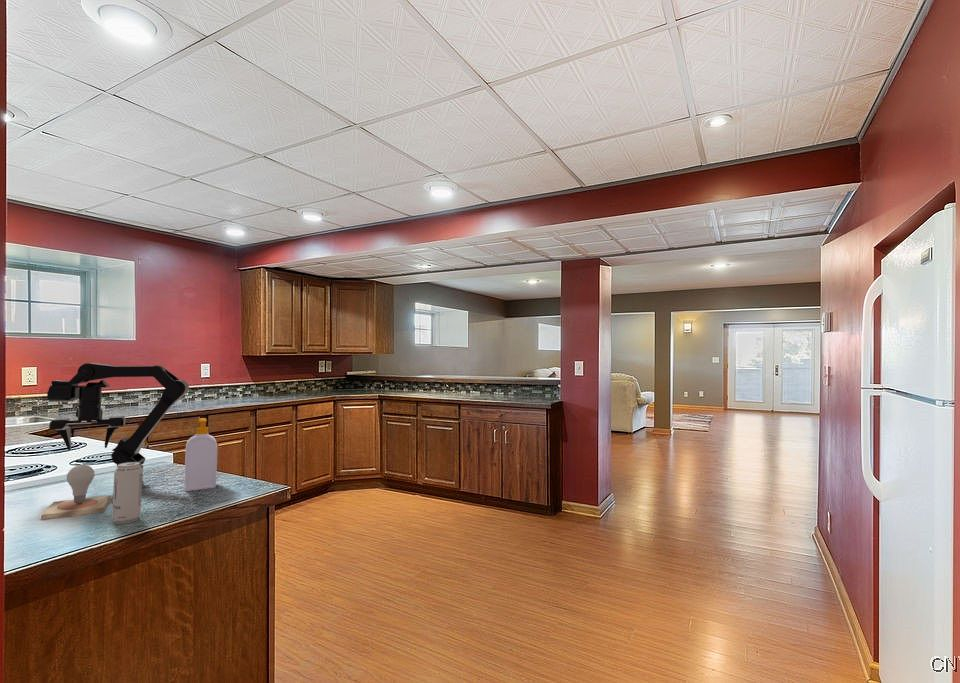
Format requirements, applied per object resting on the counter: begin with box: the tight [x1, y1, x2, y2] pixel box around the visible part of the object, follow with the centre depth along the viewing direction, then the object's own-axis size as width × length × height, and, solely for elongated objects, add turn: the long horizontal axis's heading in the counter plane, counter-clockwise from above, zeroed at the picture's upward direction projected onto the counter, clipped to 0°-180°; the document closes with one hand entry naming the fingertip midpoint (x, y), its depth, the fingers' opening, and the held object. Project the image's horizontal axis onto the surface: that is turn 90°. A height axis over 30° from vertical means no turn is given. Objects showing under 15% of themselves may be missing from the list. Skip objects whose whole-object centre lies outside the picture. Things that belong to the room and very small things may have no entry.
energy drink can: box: [111, 462, 143, 525], centre depth 126 cm, size 6×6×15 cm
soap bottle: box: [183, 417, 219, 492], centre depth 158 cm, size 9×7×23 cm
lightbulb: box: [66, 464, 95, 504], centre depth 134 cm, size 6×6×11 cm
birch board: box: [40, 495, 111, 520], centre depth 134 cm, size 13×13×1 cm
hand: (87, 449), depth 154 cm, fingers open, 9 cm apart
